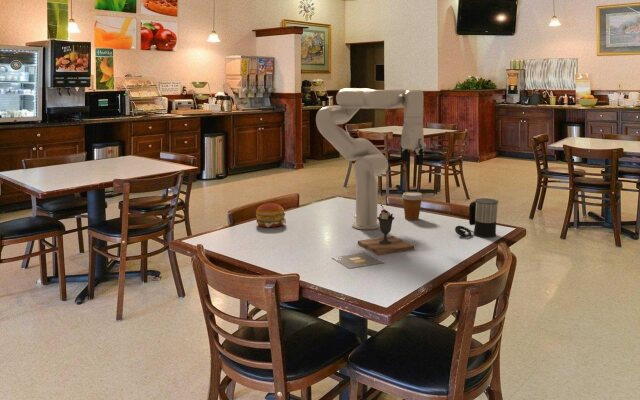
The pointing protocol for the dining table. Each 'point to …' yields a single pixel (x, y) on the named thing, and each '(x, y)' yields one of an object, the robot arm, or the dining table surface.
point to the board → (385, 245)
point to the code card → (358, 260)
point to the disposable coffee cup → (412, 205)
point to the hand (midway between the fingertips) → (412, 163)
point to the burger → (270, 215)
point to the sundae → (385, 224)
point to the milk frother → (481, 218)
